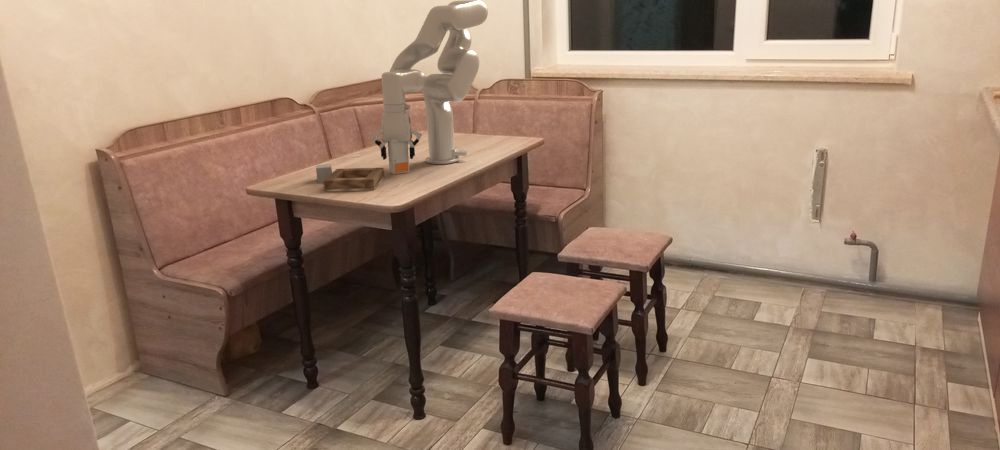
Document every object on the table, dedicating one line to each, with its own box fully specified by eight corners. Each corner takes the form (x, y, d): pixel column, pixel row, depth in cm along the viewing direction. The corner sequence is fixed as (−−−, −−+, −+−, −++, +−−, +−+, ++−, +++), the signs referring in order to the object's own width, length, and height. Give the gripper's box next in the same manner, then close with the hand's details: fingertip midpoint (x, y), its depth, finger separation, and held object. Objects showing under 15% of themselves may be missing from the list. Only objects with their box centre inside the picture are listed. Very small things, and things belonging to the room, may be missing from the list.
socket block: (384, 177, 258) (383, 167, 257) (374, 190, 242) (373, 179, 241) (337, 178, 259) (336, 168, 258) (324, 191, 243) (323, 180, 242)
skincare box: (393, 174, 262) (391, 140, 258) (389, 172, 265) (386, 138, 262) (410, 172, 264) (407, 138, 261) (405, 170, 268) (403, 136, 265)
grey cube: (332, 178, 260) (331, 164, 259) (332, 181, 256) (331, 167, 254) (317, 179, 259) (316, 165, 258) (317, 182, 255) (316, 168, 253)
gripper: (421, 106, 262) (424, 155, 267) (371, 107, 263) (375, 157, 267) (418, 109, 254) (421, 160, 259) (367, 111, 255) (371, 161, 260)
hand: (398, 158), depth 263 cm, fingers open, 9 cm apart
